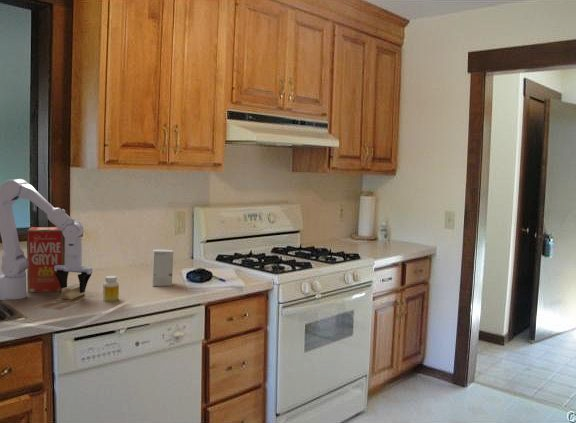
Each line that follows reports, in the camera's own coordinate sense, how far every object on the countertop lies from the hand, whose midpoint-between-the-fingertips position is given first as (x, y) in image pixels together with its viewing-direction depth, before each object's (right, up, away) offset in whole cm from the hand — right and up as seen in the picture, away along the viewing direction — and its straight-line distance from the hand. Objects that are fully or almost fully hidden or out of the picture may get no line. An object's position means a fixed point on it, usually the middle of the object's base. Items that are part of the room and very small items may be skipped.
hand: (73, 291), depth 197 cm
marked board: (-1, -4, -5) cm, 6 cm away
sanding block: (0, -2, 0) cm, 2 cm away
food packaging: (-15, -2, +11) cm, 18 cm away
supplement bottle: (+14, -4, -1) cm, 15 cm away
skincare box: (+26, -2, +29) cm, 39 cm away
